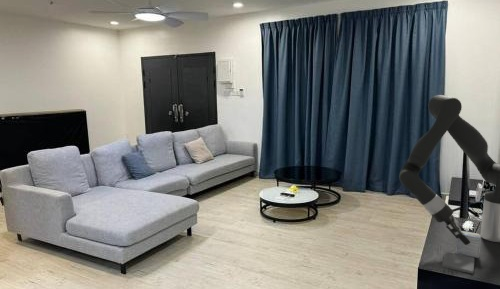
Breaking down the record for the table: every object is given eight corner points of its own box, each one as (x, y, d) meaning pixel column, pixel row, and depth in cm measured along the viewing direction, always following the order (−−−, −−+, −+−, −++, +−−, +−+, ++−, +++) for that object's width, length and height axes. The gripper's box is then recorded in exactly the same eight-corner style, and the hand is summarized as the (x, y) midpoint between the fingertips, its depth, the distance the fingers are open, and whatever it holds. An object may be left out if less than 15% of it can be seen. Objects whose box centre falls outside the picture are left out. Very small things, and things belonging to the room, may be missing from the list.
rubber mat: (445, 253, 146) (445, 251, 146) (474, 260, 140) (474, 257, 140) (442, 266, 136) (442, 264, 136) (473, 274, 130) (473, 271, 130)
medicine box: (478, 254, 145) (480, 233, 144) (478, 258, 142) (481, 238, 140) (456, 249, 149) (457, 229, 148) (455, 254, 146) (457, 233, 144)
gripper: (446, 208, 140) (477, 241, 137) (444, 197, 152) (473, 227, 149) (429, 219, 143) (460, 251, 140) (429, 207, 155) (457, 237, 153)
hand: (467, 239), depth 145 cm, fingers open, 8 cm apart
